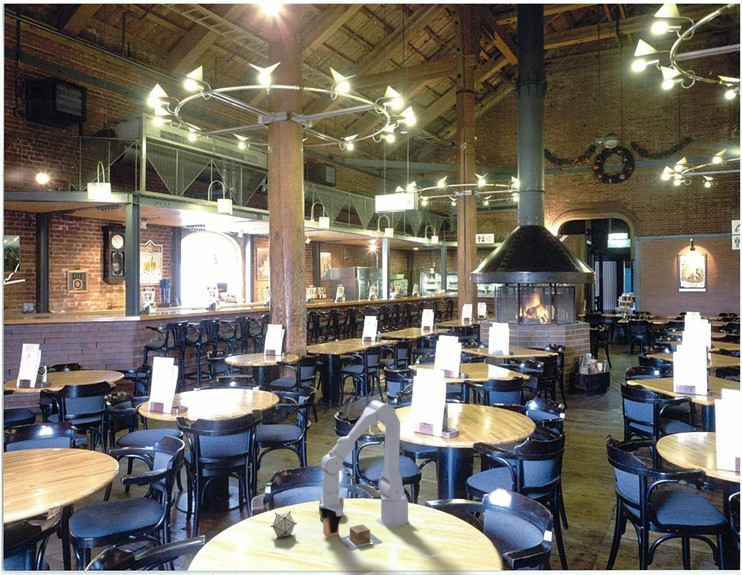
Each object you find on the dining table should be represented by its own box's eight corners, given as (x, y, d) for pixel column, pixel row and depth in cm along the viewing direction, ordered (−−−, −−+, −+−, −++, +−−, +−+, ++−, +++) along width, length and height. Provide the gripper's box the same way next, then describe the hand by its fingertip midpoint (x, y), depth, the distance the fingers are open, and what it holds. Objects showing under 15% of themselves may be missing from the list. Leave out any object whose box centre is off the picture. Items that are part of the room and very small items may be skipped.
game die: (286, 549, 185) (290, 533, 179) (264, 538, 186) (267, 522, 181) (299, 527, 192) (302, 511, 186) (277, 517, 194) (280, 500, 188)
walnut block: (362, 536, 186) (362, 524, 186) (370, 541, 182) (370, 529, 182) (349, 539, 183) (349, 527, 184) (356, 545, 179) (356, 532, 179)
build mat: (368, 532, 190) (368, 531, 190) (382, 543, 181) (382, 542, 181) (337, 539, 184) (337, 538, 184) (350, 551, 175) (350, 550, 175)
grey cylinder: (340, 520, 200) (340, 499, 200) (318, 519, 201) (318, 497, 201) (345, 509, 210) (345, 489, 211) (324, 508, 211) (325, 488, 212)
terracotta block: (333, 530, 191) (333, 516, 191) (338, 534, 188) (338, 520, 188) (323, 532, 189) (323, 518, 189) (328, 537, 186) (328, 522, 186)
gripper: (312, 485, 193) (312, 524, 193) (329, 499, 180) (329, 540, 180) (330, 482, 196) (330, 520, 196) (348, 495, 184) (348, 535, 183)
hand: (330, 529), depth 188 cm, fingers closed on terracotta block, 4 cm apart
